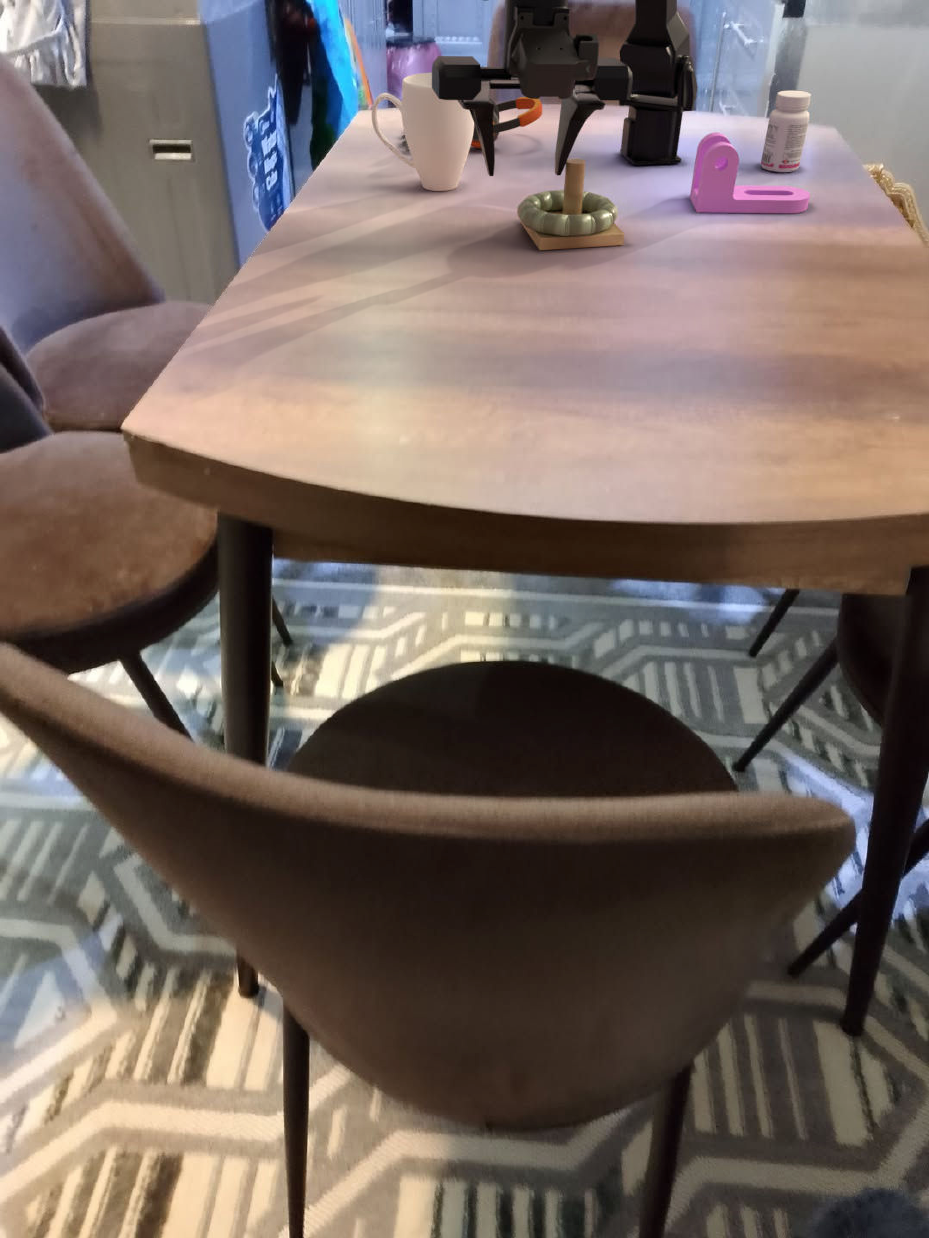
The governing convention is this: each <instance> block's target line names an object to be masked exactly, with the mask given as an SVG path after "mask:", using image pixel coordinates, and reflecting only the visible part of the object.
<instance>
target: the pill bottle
mask: <svg viewBox="0 0 929 1238" xmlns="http://www.w3.org/2000/svg"><path fill="white" fill-rule="evenodd" d="M811 97H812V94H811V93H810V92H807V91H801V90H782V91H778V92H777V93H776V97H775V104H774V107H775V109H773V110H772V111H771V112H770V115H769V118H768V124H767V130H766V134H765V139H764V144H763V149H762V155H761V160H760V167H761V169H763V170H765V171H769V172H776V173H791V172H794V171H797V170H798V169H799V168H800V164H801V159H802V154H803V150H804V146H805V145H804V144H805V141H806V136H807V132H808V126H809V121H810V112H808V110H807V109H809V107H810V102H811Z"/></svg>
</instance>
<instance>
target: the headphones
mask: <svg viewBox="0 0 929 1238" xmlns="http://www.w3.org/2000/svg"><path fill="white" fill-rule="evenodd" d="M489 99H490V100H491V101H492V102H493V104H494V105H495V107H494V115H493V132H494V143H495V142H496V140H497V139H498V137H499V134H500V133H503V132H506V131H507V132H508V131H511V130H513V129H517V128H524V127H526V126H528V125H531V124H533V123H534V122H536V121H538V119H540V118H541V117H542V116H543V104H542V101H541V99H540V98H538V99H530V98H527V97H525V96H519V97H517V98H516V99H512V100H505V101H503V102H499V103H496V102H495V101H494V100H493V99H492V98H490V97H489ZM513 109H517V110H527V111H525V112H523V113H521V114H518V115H517V117H515V118H513V119H509V120H505V121H502V122H500V113H501V112H505V111H508V110H513ZM401 138H402V139H404V138H405V140H403V141H402V142H401V144H402V145H401V146H403V147H405V152H410V150H409V147H408V144H407V141H406V137H405V134H404V135H401ZM470 147H472V148H474V149H478V150H482V148H481V144H480V141H479V137H478V133H477V130H476V126H475V124H474V132H473V138H472V142H471V146H470Z"/></svg>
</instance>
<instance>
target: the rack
mask: <svg viewBox="0 0 929 1238" xmlns="http://www.w3.org/2000/svg"><path fill="white" fill-rule="evenodd" d="M564 169H565V170H564V185H563V190H564V198H563V210H557V211H547V213H554V214H563V215H577V214H589V213H587V212H582V200H583V191H584V188H585V187H584V185H585V174H586V160H585V159H582V158H568V159H567V162H566V164H565V167H564ZM520 223H521V225H522V227H523V228H524V230H525V231H526V232H527V235H528V236H529V237H530V238H531V241H533V243H534V244H535V245H536V248H537V249H538V250H539V251H550V250H563V249H564V250H566V249H581V248H598V247H615V246H623V245H624V241H625V240H624V239H625V233H624V232H623V230H621V228H620V227H619V226H618V225H617V224H616V223H615V222H614V223H613V224H612V226H611V227H610V228H609V229H607V230H604V231H601V232H598V233H594V234H591V235H580V236H559V235H551V234H544V233H541V232H538V231H535V230H532V229H530V228H527V227H526V226H524V224H523V223H522V221H521V220H520Z"/></svg>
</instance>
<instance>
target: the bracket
mask: <svg viewBox="0 0 929 1238" xmlns="http://www.w3.org/2000/svg"><path fill="white" fill-rule="evenodd" d="M738 153H739V152H737V150H736V148H735V147H734V146H733V145H732V143H731V141H730V140H729V139H728V137H727V136H726V135H725V134H723V133H722V132H716V131H715V132H711V133H708V134H706V135H705V136H703V138H702V139H701V140H700V142H698V145H697V148H696V154H695V160H694V166H693V173H692V179H691V180H692V181H691V185H690V193H689V198H690V201H691V204H692V205H693V208H694V209H695V211H696V213H714V214H715V213H717V214H718V213H719V214H720V213H721V214H724V213H725V214H730V213H731V214H735V213H736V214H798V213H799V214H800V213H803V212H805V211H807V210H808V207H809V204H810V203H809V202H810V198H811V193H810V192H809V191H807V190H805V189H803V188H799V187H795V186H789V185H749V184H748V185H743V184H742V185H741V184H739V185H738V184H737V185H736V181H737V176H738V169H739V165H740V157H739V154H738Z"/></svg>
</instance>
